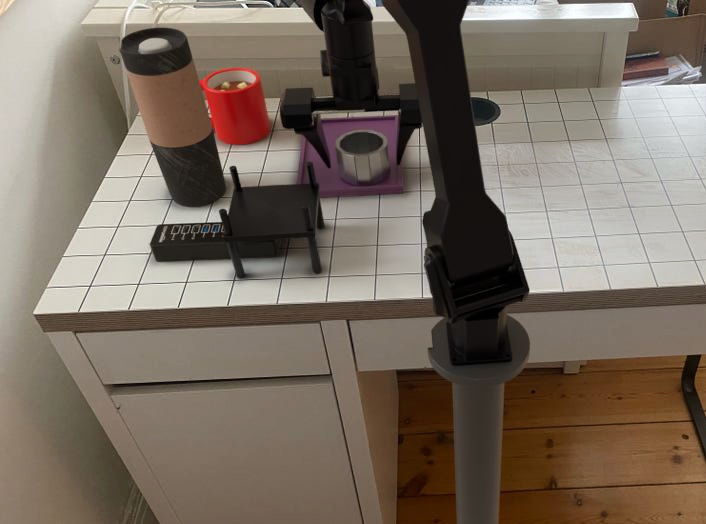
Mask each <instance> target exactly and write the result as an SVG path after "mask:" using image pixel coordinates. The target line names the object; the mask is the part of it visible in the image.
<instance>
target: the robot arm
mask: <svg viewBox="0 0 706 524" xmlns="http://www.w3.org/2000/svg"><path fill="white" fill-rule="evenodd" d="M299 2H300V6H301V8H302V9H303V11H304V12H305V13H306V15H307V16H308V17H309V19H310V20H311V21H312V22H313V23H314V24H315V26H316V27H317V28H318V29H319V30H320V31H321V32H323V37H324V43H325V49H320V50H319V56H320V57H319V58H320V68H321V74H322V78H327V77H329V80H330V85H331V93H332V96H329V97H328V96H326V97H316V94H315V90H314V87H311V86H310V87H290V88H289V87H288V88H285V89H284V90H283V92H282V93H281V97H280V98H281V99H280V103H279V118H280V123H281V126H282V129H285V130H293V133H294V134H295V135H301V136H302V135H303V136H304V137H305V138H306V139H307V140H308V142H309V143H310V144H311V145H312V146H313V147H314V148H315V150H316V151H317V153H318V154H319V156H320V157H321V159H322V160H323V162H324V163H325V165H326V166H327V168H331V159H330V153H329V149H328V146H327V142H326V138H325V134H324V131H323V127H322V123H321V115H328V114H330V115H331V114H351V113H352V114H353V113H355V114H356V113H374V112H375V113H377V112H394V111H395V112H397V115H398V125H397V142H396V160H397V165H400V163H401V160H402V161H403V157H404V154H405V152H406V148H407V145H408V143H409V141H410V139H411V137H412V135H413V133H414V131H415V130H418V129H419V130H420V129H422V128H423V132H424V140H425V145H426V150H427V156H428V162H429V167H430V172H431V177H432V183H433V189H434V196H435V197H434V199H433V202H432V206H431V208H430V210H427V211H424V212H423V216H422V219H421V223H422V227H423V231H424V236H425V242H426V247H425V249H424V255H423V262H424V263H423V269H424V272H425V276H426V280H427V283H428V288H429V293H430V295H431V298H432V305H433V308H432V309H433V313H434V314H435V316H438V317H442V318H444V317H446V319H447V320H448V322H447V323H446V328H447V337H448V346H449V356H450V363H451V365H453V366H460V365H474V364H488V363H502V362H510V361H512V350H511V345H510V340H509V335H508V329H507V324H506V316H507V315H508V314H507V313H508V306H510V305H513V304H516V303H523V302H526V301H527V299H528V297H529V294H530V291H531V290H530V286H529V283H528V280H527V277H526V274H525V270H524V267H523V264H522V261H521V258H520V254H519V252H518V248H517V245H516V241H515V239H514V237H513V234H512V232H511V230H510V229H509V224H508V218H507V216H506V214H504V212H503V211H502V210H501V209H500V207H498V205H497V204H496V203H495V202H494V200H493V199H492V198H491V197H490V196H489V195H488V193H487V191H486V187H485V180H484V174H483V168H482V167H483V166H482V161H481V155H480V147H479V141H478V134H477V127H476V121H475V114H474V108H473V102H472V94H471V88H470V82H469V75H468V69H467V63H466V55H465V50H464V49H465V48H464V43H463V36H462V27H461V25H462V22H463V19H464V17H465V14H466V11H467V9H468V5H469V2H470V0H380V2H381V4H382V6H383V8H384V9H385V10H386V11H387V12H388V14H389V15H390V16H391V17H392V19H393V20H394V21H395V22H396V24H398V27H400V28H401V30H402V31H403V32H404V34H405V36H406V40H407V45H408V50H409V57H410V63H411V68H412V73H413V74H412V75H413V78H414V82H411V83H410V82H409V83H399V84H398V91H399V93H397V94H380V91H379V90H380V79H379V69H378V66H377V61H376V49H375V41H374V30H373V21H374V15H373V12H372V8H371V6H370V5H369V4H368V3H367V1H365V0H299ZM507 357H509V358H507Z"/></svg>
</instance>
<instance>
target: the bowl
mask: <svg viewBox="0 0 706 524" xmlns="http://www.w3.org/2000/svg"><path fill="white" fill-rule="evenodd" d="M335 149H336V155H337V162H338V169H339V175H340V176H341V177H342V178H343V179H344V180H345V181H347V182H348V183H350V184H353V185H359V186H367V185H373V184H376V183H379V182H381V181H382V180H384V179H385V178H386V177H387V176H388V174H389V173H390V161H389V150H388V139H387V137H385V136H384V135H383V134H382V133H380V132H376V131H372V130H354V131H351V132H348V133H345V134H344V135H341V136H340V137H339V138H338V139H337V140H336V144H335Z"/></svg>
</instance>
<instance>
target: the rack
mask: <svg viewBox="0 0 706 524" xmlns="http://www.w3.org/2000/svg"><path fill="white" fill-rule="evenodd" d="M306 166H307V172H308V178H309V183H307V184H296V183H291V184H288V183H287V184H272V185H270V184H269V185H251V186H242V184H241V179H240V175H239V172H238V168H237V166H236V165H230V166H229V168H228V169H229V172H230V176H231V180H232V185H233V191H232V195H231V200H230V204H229V209H228V211H227V209H226V208H220V209H219V210H218V214H219V218H220V220H221V221H220V222H222V224H223V228H224V235H223V239H224V242H225V243H227V245H228V249H229V252H230V255H231V262H232V264H233V269H234V272H235V273H234V274H235V276H236V278H238V279H243V278H245V277H246V272H245V269H244V264H243V261H242V258H241V257H240V254H239V250H238V247H237V243H236V242H245V241H262V240H280V239H281V240H294V239H306V242H307V247H308V253H309V258H310V262H311V268H312V272H313V273H314V274H320V273H322V270H323V269H322V264H321V259H320V254H319V253H320V252H319V248H318V243H317V237H316V236H317V229H318V230H323V229H325V220H324V219H325V218H324V215H323V208H322V201H321V198H320V196H319V189H320V188H319V183H316V178H315V172H314V166H313V163H312V162H307V163H306Z"/></svg>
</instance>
